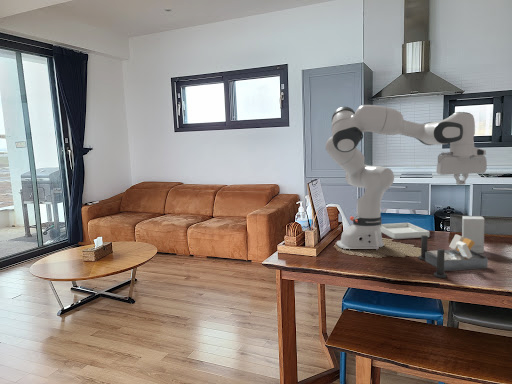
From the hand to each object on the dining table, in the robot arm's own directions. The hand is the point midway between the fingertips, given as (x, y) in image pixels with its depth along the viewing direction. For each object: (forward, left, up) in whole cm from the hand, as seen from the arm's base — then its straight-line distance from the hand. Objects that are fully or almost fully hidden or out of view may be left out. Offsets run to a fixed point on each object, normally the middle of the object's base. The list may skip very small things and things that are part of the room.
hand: (460, 184), depth 155 cm
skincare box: (+10, +5, -31) cm, 33 cm away
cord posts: (-19, -11, -31) cm, 38 cm away
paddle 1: (-6, -5, -27) cm, 28 cm away
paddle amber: (-6, -10, -27) cm, 29 cm away
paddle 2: (-6, -15, -27) cm, 32 cm away
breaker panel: (-8, -10, -31) cm, 34 cm away
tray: (-4, +43, -31) cm, 53 cm away
